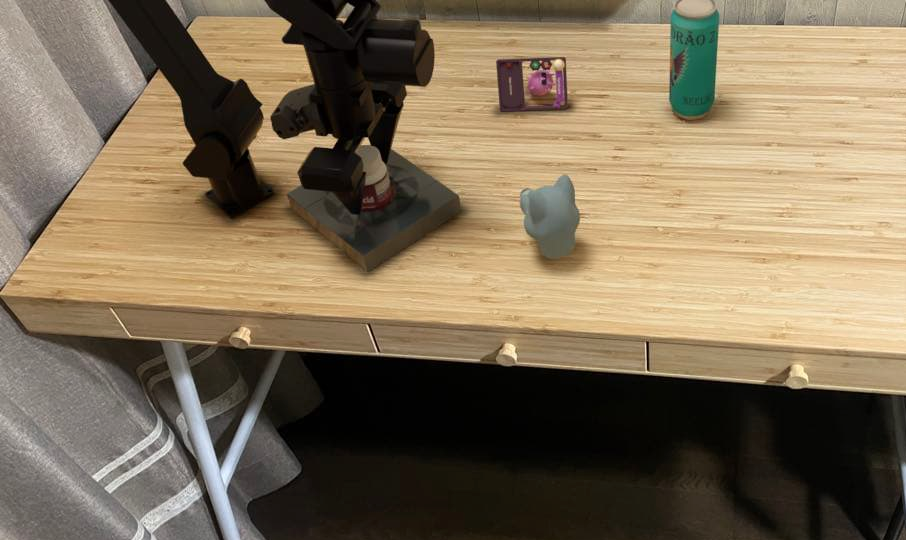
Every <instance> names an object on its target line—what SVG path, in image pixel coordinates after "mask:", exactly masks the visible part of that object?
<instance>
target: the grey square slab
mask: <svg viewBox="0 0 906 540" xmlns="http://www.w3.org/2000/svg"><path fill="white" fill-rule="evenodd" d="M386 167H387V171H388V176H389V180H390V185H391V189H392V194H393V198H394V200H393V201H392V202H391V203H390V204H389V205H387V206H386V207H384V208H382V209H379V210H375V211H365V212H362V211H361V213H360V215H354V214H351V213H350V212H349V211H348V210H347V208H346V207H345V206H344V205H343V204H342V203H341V201H340V200H339V199H338V198H337V197H336V196H335V195H334V194H333V193H332V192H328V191H318V190H308V189H304V188H303V187H302V185H301V184H300V185H298V186H297V187H295V188H294V189H292V190H290V191H288V192H286V194H285V195H286V197H287V200H288V203H289V206H290V209H291V210H292V211H293V212H294V213H295V214H297V215H298V216H299V217H300V218H302V219H303V220H304V221H305V222H306V223H308V224H309V226H311V227H312V228H314V229H315V231H317V232H318V233H320V234H321V235H322V236H324V237H325V238H326V239H327V240H329V242H331V243H332V244H333V245H334V246H336V247H337V248H338V249H339V250H340V251H342V252H343V253H344V254H345V255H347V257H349V258H350V259H351V260H352V261H353V262H355V263H356V264H358V265H359V266H360V267H361V268H362V269H364V270H365V271H366V272H370V271H371V270H372V269H374V268H376V267H378V266H379V265H381V264H382V263H384V262H385V261H387V260H388V259H390V258H391V257H393V256H394V255H396V254H398V253H399V252H401V251H402V250H404V249H405V248H407V247H408V246H410V245H412V244H413V243H415V242H417V241H418V240H420V239H421V238H422V237H424V236H426V235H427V234H429V233H430V232H431V231H434V230H435V229H437V228H438V227H440V226H441V225H443V224H444V223H446V222H448V220H450V219H452V218H453V217H455V216H457V215H458V214H460V213H461V212H462V207H461V201H460V196H459V194H458V193H456V192H454V191H453V190H452V189H450V188H449V187H447V186H446V185H444V184H443V183H442V182H440V181H439V180H437V179H436V178H435V177H433V176H432V175H430V174H428V173H427V172H426V171H424V170H423V169H422V168H420V167H419V166H418V165H416V164H414V163H413V162H411V161H410V160H408V159H407V158H406V157H404V156H403V155H401V154H400V153H399V152H397V151H395V150H394V149H393V148H391V151H390V155H389V159H388V162H387V164H386Z"/></svg>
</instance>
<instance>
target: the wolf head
mask: <svg viewBox="0 0 906 540" xmlns="http://www.w3.org/2000/svg"><path fill="white" fill-rule="evenodd" d="M519 208H520V210H521V211H522V213H523V215H524V218H523V227H524V230H525V232H526V234H527V235H528V236H529V237H530V238H532V239H534V240H535V241H536V243H537V248H538V250H539V251H540V253H542V255H543V256H544V257H546V258H547V259H550V260H561V259H562V258H564V257H566V256H568V255H570V254H571V253H572V252H573V251H574V249H575V246H576V231H577V230H578V227H579V225H580V221H581V213H580V210H579V208H578V207H577V205H576V189H575V186H574V183H573V181H572V180H571V177H570V176H569V175H568V174H567V173H563V174H561V175H560V176H559V177H558V178H557V179H556V181H555V183H554V185H543V186H540V187H537V188H536V189H535V190H534V189H531V188H523V189H522V190H521V191H520V193H519Z"/></svg>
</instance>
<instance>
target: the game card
mask: <svg viewBox="0 0 906 540" xmlns="http://www.w3.org/2000/svg"><path fill="white" fill-rule="evenodd" d="M551 61H552V62H551ZM524 62H530V63H529V65H528V66H529V68H530V69H531V71H535V72H529V75H530V76H526V80H528V81H527V89H528V90H526V93H528V94H529V93H530V94H532V95H533V96H545V95H547V94H549V93H550V92H551V91H552V89H553V87H554V86H555V92H556V97H555V98H556V99H555V100H554V103H553V105H535V106H534V105H533V106H526V102H525V101H526V100H525V85H524V73H523V71H524V70H523V63H524ZM495 65H496V77H497V79H496V80H497V92H498V103H499V111H500V112H514V111H515V112H517V111H519V112H520V111H546V110H567V109H568V108H569V99H568V98H569V97H568V77H567V58H566V57H565V56H552V57H550V56H549V57H548V56H547V57H526V58H524V57H522V58H500V59H499V58H498V59H497V60H496V61H495ZM551 67H552V68H553V70H554V73H551V72H550V71H551ZM540 68H541V69H540ZM554 76H555V83H554V79H553V77H554ZM560 103H564V104H563V105H561V104H560Z"/></svg>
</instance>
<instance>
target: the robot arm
mask: <svg viewBox="0 0 906 540" xmlns="http://www.w3.org/2000/svg"><path fill="white" fill-rule="evenodd" d="M107 1H108V2H109V4H110V5H111V6H112V7H113V9H114V11H115V12H116V13H117V14H118V16H119V17H120V18H121V20H122V22H124V24H125V25H126V27H127V28H128V29H129V30H130V32H131V33H132V34H133V37H135V39H136V40H137V41H138V43H139V44H140V45H141V47H142V48H143V50H144V51H145V52H146V54H147V55H148V57H149V58H150V59H151V61H152V62H153V63H154V64H155V66H156V67H157V69H158V70H159V72H160V73H161V74H162V76H164V78H165V79H166V81H167V82H168V83H169V85H170V86H171V88H172V89H173V90H174V92H175V93H176V94H177V96H178V98H179V101H180V106H181V112H182V117H183V124H184V127H185V129H186V131H187V133H188V135H189V137H190V138H191V140H192V142H193V144H194V147H193V148H192V149H191V150H190V152H189V153H188V155H187V156H186V157H185V158H184V160H183V161H182V166H183V167H184V168H185V169H186V170H187V172H188V173H189V174H190V175H191V176H192V177H194V178H202V179H207V180H208V182H209V184H210V187H211V189H209V190H207V191H206V192H205V193H204V195H205V198H206V199H207V200H208V201H209V202H210V203H211V204H213V205H214V206H215V207H216V208H217V209H218V210H220V212H222V213H223V214H224V215H225V216H226V217H227V218H228V219H235V218H237V217H238V216H240V215H242V214H244V213H245V212H248V211H249V210H251V209H252V208H255V206H257V205H259V204H261V203H263V202H264V201H266V200H268V199H270V198H271V197H273V196H274V195H275V190H274V188H272V187H271V186H270V185H268V183H266V182H265V181H263V180H262V179H261V178H260V177H259V174H258V172H257V169H256V166H255V163H254V161H253V158H252V155H251V153H250V150H249V147H250V145H251V144H252V143H253V141H254V140H255V139H256V138H257V136H258V133H259V131H260V130H261V129H262V126H263V123H264V119H265V117H264V113H263V111H262V109H261V108H262V106H263V103H262V102H261V101H260V100H259V99H257V97H256V96H255V95H254V94H253V93H252V90H251V89H250V87H249V84H248V83H247V82H246V81H245V80H244V79H243V78H239V79H237V80H235V81H233V80H231V79H229V78H228V77H225V76H223V75H221V74H220V73H218V72H217V71H216V70H215V69H214V67H213V66H212V64H211V63H210V61H209V60H208V58H207V57H206V55H205V54H204V53H203V51H202V50H201V49H200V47H199V46H198V44H197V43H196V41H195V40H194V38H193V37H192V36H191V34H190V33H189V31H188V30H187V28H186V27H185V26H184V24H183V22H182V21H181V20H180V18H179V17H178V16H177V14H176V12H175V11H174V10H173V8H172V6H171V5H170V4H169V2H168V1H167V0H107ZM263 1H264V2H265V3H266V6H268V8H269V9H270V10H271V11H272V12H274V13H275V14H276V15H278V16H279V17H281V18H282V19H284V20H285V21H286V22H287V23H289V24H290V26H289V28H288V29H287V30H286V31H285V33H284V35H283V36H282V37H281V42H282V43H283V44H285V45H296V46H303V50H304V52H305V56H306V59H307V63H308V66H309V71H310V74H311V76H312V80H313V84H309V85H306V86H302V87H298V88H295V89H292V90H289V91H288V92H286V93H285V95H284V96H283V97H282V98H281V100H280V102H279V103H278V104H277V105H276V107H275V109H274V110H273V112H271V115H270V116H269V117H270V122H271V129H272V131H273V132H274V133H275V134H276V135H277V137H278V138H279V139H282V140H288V139H291V138H296V137H299V135H300V134H302V133H306V132H311V131H313V130H314V132H315V135H316V136H317V137H328V135H331V136H332V138H334V139H336V142H335V144H334V145H333V147H323V146H314V147H313V148H311V150H309V152H308V153H307V155H306V156H305V159H304V160H303V162H302V163H301V165H300V166H299V168H298V169H297V172H296V173H297V176H298V179H299V182H300V185H302V187H303V188H304V189H308V190H318V191H328V192H332V193H333V194H334V195H335V196H336V197H337V198H338V199H339V200H340V201H341V203H342V204H343V205H344V206H345V207H346V208H347V210H348V211H349V212H350V213H351V214H354V215H360V213H361V209H362V203H363V195H364V187H365V180H366V172H363V167H364V165H363V161H362V158H361V157H360V156H359V155H358V154H356V153H357V151H358V149H359V148H360V146H361V145H363V143H364V141H365V138H366V139H367V140H368V142H369V145H371V146H374V147H376V148H377V149H378V150H379V152H380V155H381V159H382V161H383V162H384V163H385V165H386V164H387V162H388V159H389V155H390V151H391V149H392V147H393V143H394V139H395V136H396V132H397V128H398V124H399V122H400V119H401V115H402V112H403V109H404V106H405V104H404V101H405V99H406V97H407V96H408V92H407V88H406V86H407V87H420V88H421V87H422V88H424V87H427V86H428V85H429V84H430V82H431V80H432V78H433V74H434V69H435V60H436V59H435V58H436V57H435V55H436V54H435V44H434V39H433V38H431V36H430V33H429V32H428V31H427V30H426V29H422V25H421V21H420V20H419V19H412V18H405V19H385V18H383V19H382V18H378V16H377V15H378V14H379V12H380V11H381V9H382V5H381V4H380V3H379V2H378V1H377V0H263ZM347 5H349V6H352V8H353V9H352V10H351V12H350V13H349V15H348V16H347V18H346V19H345V21H343V20H342V19H338V18H339V17H340V16H341V14H342V12H343V11H344V10H345V8H346V6H347Z"/></svg>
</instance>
